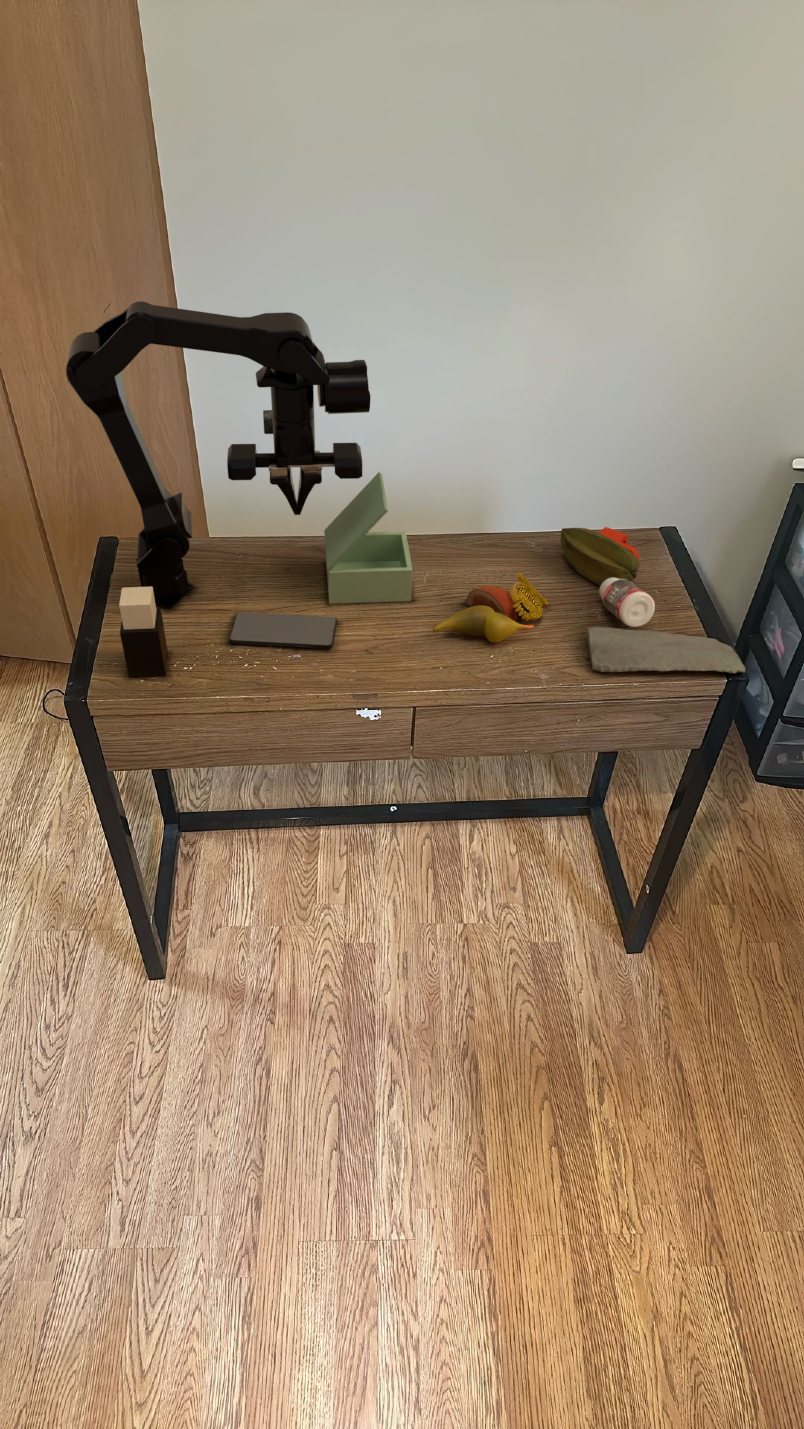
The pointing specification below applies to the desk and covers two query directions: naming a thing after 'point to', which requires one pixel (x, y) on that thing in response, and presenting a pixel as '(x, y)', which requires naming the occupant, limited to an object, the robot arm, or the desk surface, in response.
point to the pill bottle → (627, 601)
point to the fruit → (597, 556)
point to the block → (137, 608)
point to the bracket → (619, 539)
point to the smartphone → (283, 630)
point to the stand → (145, 649)
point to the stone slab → (657, 651)
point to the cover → (355, 521)
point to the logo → (527, 599)
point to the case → (373, 571)
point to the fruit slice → (493, 600)
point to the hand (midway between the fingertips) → (297, 513)
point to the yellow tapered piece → (482, 623)
